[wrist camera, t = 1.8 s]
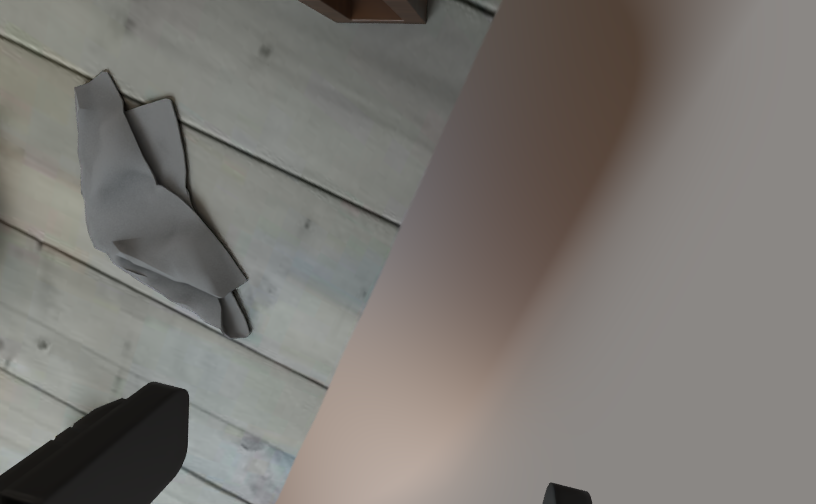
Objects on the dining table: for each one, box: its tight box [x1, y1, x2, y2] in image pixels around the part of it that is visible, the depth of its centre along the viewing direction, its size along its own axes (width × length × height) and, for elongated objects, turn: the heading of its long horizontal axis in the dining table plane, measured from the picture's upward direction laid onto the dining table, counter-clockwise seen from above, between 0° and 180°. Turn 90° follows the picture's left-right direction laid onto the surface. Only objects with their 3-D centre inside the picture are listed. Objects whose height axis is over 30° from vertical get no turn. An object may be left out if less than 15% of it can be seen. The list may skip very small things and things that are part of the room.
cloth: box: [74, 72, 250, 339], centre depth 44 cm, size 26×14×2 cm, turn 18°
